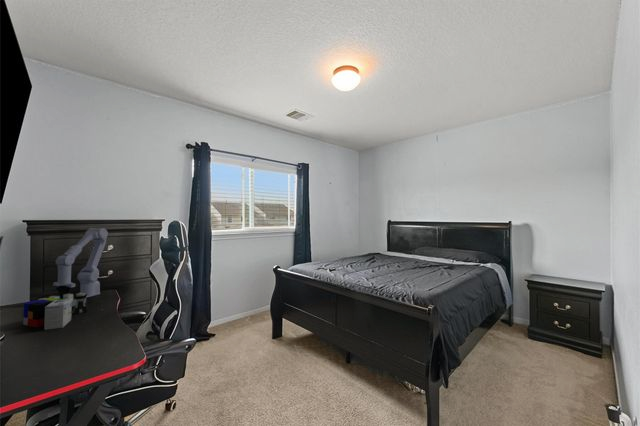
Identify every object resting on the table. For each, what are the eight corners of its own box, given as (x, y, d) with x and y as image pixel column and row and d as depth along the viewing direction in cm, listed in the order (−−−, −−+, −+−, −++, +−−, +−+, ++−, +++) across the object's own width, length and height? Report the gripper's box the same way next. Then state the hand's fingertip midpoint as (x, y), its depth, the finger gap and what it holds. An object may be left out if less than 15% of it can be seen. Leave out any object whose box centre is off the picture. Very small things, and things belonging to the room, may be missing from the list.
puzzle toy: (23, 324, 127) (23, 303, 127) (49, 317, 136) (50, 297, 137) (36, 327, 124) (37, 305, 124) (63, 319, 134) (63, 299, 134)
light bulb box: (53, 322, 130) (54, 299, 130) (71, 320, 133) (72, 298, 133) (43, 330, 121) (44, 306, 121) (63, 327, 124) (64, 304, 124)
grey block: (68, 300, 161) (68, 293, 161) (73, 300, 160) (73, 294, 160) (62, 301, 158) (63, 294, 158) (68, 301, 157) (68, 295, 157)
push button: (71, 315, 139) (71, 296, 139) (69, 313, 142) (69, 294, 143) (87, 312, 144) (88, 293, 145) (85, 309, 148) (86, 291, 148)
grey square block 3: (43, 304, 151) (43, 297, 152) (49, 305, 151) (49, 298, 151) (37, 306, 149) (38, 299, 149) (43, 306, 148) (43, 299, 148)
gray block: (54, 302, 156) (54, 295, 156) (59, 302, 155) (59, 295, 156) (48, 303, 154) (49, 296, 154) (54, 304, 153) (54, 297, 153)
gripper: (47, 276, 158) (46, 299, 157) (66, 277, 154) (65, 301, 154) (61, 273, 165) (60, 296, 164) (79, 275, 161) (78, 298, 161)
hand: (63, 298), depth 160 cm, fingers closed
